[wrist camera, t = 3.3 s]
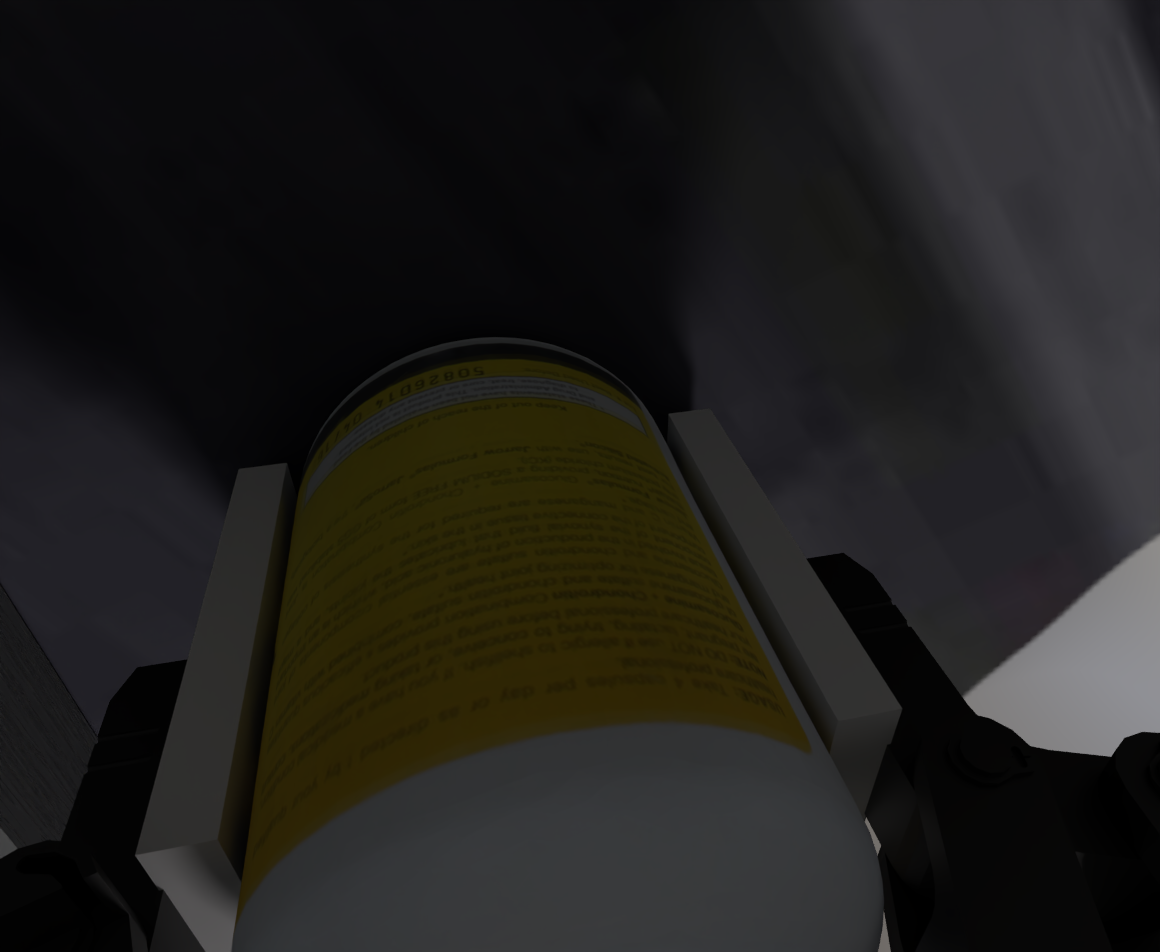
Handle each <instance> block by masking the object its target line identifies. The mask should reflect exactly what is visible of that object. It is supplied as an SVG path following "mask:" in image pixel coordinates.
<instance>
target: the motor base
mask: <svg viewBox="0 0 1160 952" xmlns="http://www.w3.org/2000/svg"><path fill="white" fill-rule="evenodd" d="M97 741H98V739H97V737H96V735H95V734H94V732H93V731H92V729H91V727H90V726H89V724H88V723H87V721H86V720H85V718H84V716H83V715H82V713H81V712H80V710H79V708H78V707H77V705H76V704H75V702H74V701H73V699H72V697H71V696H70V694H69V693H68V691H67V689H66V688H65V686H64V685H63V683H62V681H61V680H60V678H59V677H58V675H57V674H56V672H55V670H54V669H53V667H52V666H51V664H50V662H49V661H48V659H47V658H46V656H45V655H44V653H43V651H42V650H41V648H40V647H39V645H38V643H37V642H36V640H35V639H34V637H33V636H32V634H31V632H30V631H29V629H28V628H27V626H26V624H25V623H24V621H23V620H22V618H21V617H20V615H19V613H18V612H17V610H16V609H15V607H14V605H13V604H12V602H11V601H10V599H9V597H8V596H7V594H6V593H5V591H4V590H3V588H2V586H1V585H0V859H1V858H2V857H4V856H6V855H8V854H9V853H11V852H13V851H14V850H16V849H18V848H22V847H25V846H29V845H32V844H35V843H39V842H42V841H46V840H55V841H61V839H62V836H63V833H64V830H65V827H66V824H67V822H68V819H69V816H70V813H71V810H72V807H73V805H74V802H75V799H76V796H77V793H78V790H79V787H80V785H81V782H82V779H83V776H84V774H86V773H87V770H88V768H87V765H88V762H89V759H90V756H91V753H92V751H93V748H94V745H95V744H97Z"/></svg>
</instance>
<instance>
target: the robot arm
mask: <svg viewBox="0 0 1160 952" xmlns="http://www.w3.org/2000/svg"><path fill="white" fill-rule="evenodd" d="M667 445H668V447H669V449H670V451H671V453H672V456H673V458H674V460H675V462H676V464H677V466H678V468H679V470H680V472H681V474H682V476H683V478H684V480H685V482H686V485H687V487H688V488H689V490H690V492H691V494H692V496H693V498H694V500H695V502H696V504H697V506H698V508H699V510H700V512H701V514H702V516H703V517H704V519H705V521H706V523H707V525H708V527H709V529H710V531H711V533H712V535H713V536H714V538H715V540H716V542H717V544H718V546H719V548H720V550H721V552H722V553H723V555H724V557H725V559H726V561H727V563H728V565H729V567H730V569H731V570H732V572H733V574H734V576H735V578H736V580H737V582H738V584H739V586H740V588H741V589H742V591H743V593H744V595H745V597H746V599H747V601H748V603H749V605H750V606H751V608H752V610H753V612H754V614H755V616H756V618H757V620H758V622H759V624H760V625H761V627H762V629H763V631H764V633H765V635H766V637H767V639H768V641H769V643H770V644H771V646H772V648H773V650H774V652H775V654H776V656H777V658H778V660H779V661H780V663H781V665H782V667H783V669H784V671H785V673H786V675H787V677H788V679H789V680H790V682H791V684H792V686H793V688H794V690H795V692H796V693H797V695H798V697H799V699H800V701H801V703H802V705H803V706H804V708H805V710H806V712H807V714H808V716H809V718H810V719H811V721H812V723H813V725H814V727H815V729H816V730H817V732H818V734H819V736H820V738H821V740H822V742H823V743H824V745H825V747H826V749H827V751H828V753H829V755H830V756H831V758H832V760H833V762H834V764H835V766H836V768H837V769H838V771H839V773H840V775H841V777H842V779H843V780H844V782H845V784H846V786H847V788H848V790H849V792H850V793H851V795H852V797H853V799H854V801H855V803H856V805H857V807H858V809H859V811H860V813H861V815H862V817H863V819H864V822H865V819H866V817H867V819H868V821H869V823H870V825H871V827H872V829H873V830H874V832H875V834H876V836H877V838H878V840H879V842H880V844H881V848H880V850H879V853H878V861H879V866H880V870H881V875H882V881H883V892H884V913H885V919H886V924H887V931H888V937H889V943H890V949H891V952H1160V733H1151V732H1141V733H1138V734H1135V735H1132V736H1129V737H1126V738H1124V740H1123V741H1122V742H1121V744H1120V745H1119V747H1118V748H1117V749H1116V751H1115V752H1114V754H1113V755H1112V757H1107V756H1098V755H1089V754H1080V753H1071V752H1061V751H1053V750H1046V749H1042V748H1036V747H1031V746H1029V745H1028V744H1027V743H1026V742H1025V741H1024V740H1023V739H1022V738H1021V737H1019V736H1018V735H1017V734H1016V733H1015V732H1014V731H1013V730H1011V729H1009V728H1007V727H1005V726H1003V725H1002V724H1000V723H998V722H996V721H994V720H992V719H990V718H986V717H982V716H978V715H977V714H975V712H974V711H973V710H972V709H971V708H970V707H969V706H968V705H967V703H966V702H965V700H964V699H963V697H962V696H961V695H960V693H959V692H958V691H957V689H956V688H955V686H954V685H953V684H952V682H951V681H950V680H949V678H948V677H947V675H946V674H945V673H944V671H943V670H942V669H941V667H940V666H939V664H938V663H937V662H936V660H935V659H934V658H933V656H932V655H931V653H930V652H929V651H928V649H927V648H926V647H925V645H924V644H923V642H922V641H921V640H920V638H919V637H918V636H917V634H916V633H915V631H914V630H913V629H912V627H908V625H907V620H906V619H905V618H904V616H903V615H902V614H901V612H900V611H899V609H898V608H897V607H896V605H892V602H891V598H890V597H889V596H888V594H887V593H886V591H885V590H884V589H883V587H882V586H881V585H880V583H879V582H878V580H877V579H876V578H875V576H874V575H873V574H872V573H871V572H869V571H868V570H867V569H865V568H864V567H862V566H861V565H860V564H858V563H857V562H855V561H854V560H853V559H851V558H850V557H848V556H847V555H846V554H844V553H840V554H833V555H827V556H821V557H814V558H808V559H806V558H805V556H804V555H803V553H802V551H801V550H800V548H799V547H798V545H797V544H796V542H795V541H794V539H793V537H792V536H791V534H790V533H789V531H788V530H787V528H786V526H785V525H784V523H783V522H782V520H781V519H780V517H779V516H778V514H777V512H776V511H775V509H774V508H773V506H772V505H771V503H770V502H769V500H768V498H767V497H766V495H765V494H764V492H763V491H762V489H761V488H760V486H759V484H758V483H757V481H756V480H755V478H754V477H753V475H752V473H751V472H750V470H749V469H748V467H747V466H746V464H745V463H744V461H743V459H742V458H741V456H740V455H739V453H738V452H737V450H736V449H735V447H734V445H733V444H732V442H731V441H730V439H729V438H728V436H727V434H726V433H725V431H724V430H723V428H722V427H721V425H720V424H719V422H718V420H717V419H716V417H715V416H714V414H713V413H712V411H711V410H710V409H702V410H694V411H686V412H678V413H671V414H668V434H667ZM296 504H297V495H296V491H295V488H294V485H293V481H292V478H291V475H290V471H289V468H288V465H287V463H281V464H274V465H266V466H258V467H250V468H243V469H239V470H238V474H237V477H236V481H235V485H234V488H233V492H232V496H231V500H230V503H229V507H228V511H227V515H226V518H225V522H224V526H223V529H222V533H221V537H220V541H219V544H218V548H217V552H216V556H215V559H214V563H213V567H212V570H211V574H210V578H209V582H208V585H207V589H206V593H205V596H204V600H203V604H202V608H201V611H200V615H199V619H198V623H197V626H196V630H195V634H194V637H193V641H192V645H191V649H190V652H189V656H188V660H181V661H175V662H169V663H163V664H156V665H150V666H144V667H138V668H136V670H135V671H134V672H133V673H132V675H131V676H130V677H129V678H128V679H127V681H126V682H125V683H124V684H123V686H122V687H121V688H120V689H119V691H118V692H117V693H116V694H115V695H114V697H113V698H112V699H111V700H110V702H109V705H108V708H107V711H106V714H105V717H104V719H103V722H102V725H101V728H100V731H99V734H98V736H97V737H98V743H97V744H95V745H94V748H93V751H92V753H91V756H90V759H89V762H88V765H87V768H88V772H87V773H86V774H84V776H83V779H82V782H81V785H80V787H79V790H78V793H77V796H76V799H75V802H74V805H73V807H72V810H71V813H70V816H69V819H68V822H67V824H66V827H65V830H64V833H63V836H62V839H61V841H55V840H46V841H42V842H39V843H35V844H32V845H29V846H25V847H22V848H18V849H16V850H14V851H13V852H11V853H9V854H8V855H6V856H4V857H2V858H1V859H0V952H231V949H232V940H233V933H234V927H235V920H236V914H237V908H238V901H239V895H240V888H241V882H242V876H243V869H244V862H245V855H246V849H247V842H248V834H249V827H250V819H251V812H252V804H253V797H254V789H255V782H256V775H257V768H258V761H259V754H260V747H261V740H262V734H263V728H264V721H265V714H266V707H267V700H268V693H269V686H270V679H271V672H272V664H273V657H274V650H275V644H276V637H277V630H278V624H279V617H280V610H281V604H282V597H283V591H284V584H285V578H286V571H287V565H288V558H289V551H290V544H291V537H292V530H293V523H294V516H295V509H296Z"/></svg>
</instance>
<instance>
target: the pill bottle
mask: <svg viewBox="0 0 1160 952" xmlns="http://www.w3.org/2000/svg"><path fill="white" fill-rule="evenodd" d="M883 912H884V892H883V881H882V875H881V870H880V866H879V861H878V856H877V853H876V850H875V847H874V844H873V841H872V838H871V835H870V832H869V830H868V828H867V826H866V824H865V822H864V819H863V817H862V815H861V813H860V811H859V809H858V807H857V805H856V803H855V801H854V799H853V797H852V795H851V793H850V792H849V790H848V788H847V786H846V784H845V782H844V780H843V779H842V777H841V775H840V773H839V771H838V769H837V768H836V766H835V764H834V762H833V760H832V758H831V756H830V755H829V753H828V751H827V749H826V747H825V745H824V743H823V742H822V740H821V738H820V736H819V734H818V732H817V730H816V729H815V727H814V725H813V723H812V721H811V719H810V718H809V716H808V714H807V712H806V710H805V708H804V706H803V705H802V703H801V701H800V699H799V697H798V695H797V693H796V692H795V690H794V688H793V686H792V684H791V682H790V680H789V679H788V677H787V675H786V673H785V671H784V669H783V667H782V665H781V663H780V661H779V660H778V658H777V656H776V654H775V652H774V650H773V648H772V646H771V644H770V643H769V641H768V639H767V637H766V635H765V633H764V631H763V629H762V627H761V625H760V624H759V622H758V620H757V618H756V616H755V614H754V612H753V610H752V608H751V606H750V605H749V603H748V601H747V599H746V597H745V595H744V593H743V591H742V589H741V588H740V586H739V584H738V582H737V580H736V578H735V576H734V574H733V572H732V570H731V569H730V567H729V565H728V563H727V561H726V559H725V557H724V555H723V553H722V552H721V550H720V548H719V546H718V544H717V542H716V540H715V538H714V536H713V535H712V533H711V531H710V529H709V527H708V525H707V523H706V521H705V519H704V517H703V516H702V514H701V512H700V510H699V508H698V506H697V504H696V502H695V500H694V498H693V496H692V494H691V492H690V490H689V488H688V487H687V485H686V482H685V480H684V478H683V476H682V474H681V472H680V470H679V468H678V466H677V464H676V462H675V460H674V458H673V456H672V453H671V451H670V449H669V447H668V445H667V444H666V442H665V440H664V438H663V436H662V434H661V432H660V430H659V428H658V427H657V425H656V423H655V421H654V419H653V418H652V416H651V415H650V413H649V412H648V410H647V409H646V407H645V406H644V404H643V403H642V402H641V401H640V399H639V398H638V397H637V396H636V395H635V394H634V393H633V391H632V390H631V389H630V388H629V387H627V386H626V385H625V384H624V383H623V382H622V381H621V380H619V379H618V378H617V377H616V376H615V375H613V374H612V373H611V372H609V371H608V370H606V369H605V368H603V367H601V366H600V365H598V364H596V363H595V362H593V361H592V360H590V359H588V358H586V357H584V356H581V355H579V354H577V353H574V352H572V351H569V350H567V349H564V348H561V347H558V346H555V345H552V344H548V343H543V342H539V341H534V340H529V339H520V338H505V337H486V338H474V339H467V340H460V341H454V342H449V343H444V344H440V345H437V346H433V347H430V348H427V349H424V350H421V351H418V352H416V353H413V354H411V355H408V356H406V357H404V358H402V359H400V360H398V361H395V362H393V363H392V364H390V365H388V366H387V367H385V368H383V369H382V370H380V371H378V372H377V373H375V374H374V375H372V376H371V377H370V378H368V379H367V380H365V381H364V382H363V383H362V384H360V385H359V386H358V387H357V388H355V389H354V390H353V391H352V392H351V393H350V394H349V395H348V396H347V397H346V398H345V399H344V400H343V401H342V402H341V403H340V404H339V406H338V407H337V408H336V409H335V410H334V411H333V413H332V414H331V415H330V416H329V418H328V419H327V421H326V422H325V424H324V425H323V427H322V428H321V430H320V431H319V433H318V435H317V437H316V439H315V441H314V443H313V445H312V447H311V449H310V451H309V454H308V457H307V460H306V463H305V465H304V468H303V472H302V477H301V481H300V486H299V492H298V498H297V504H296V509H295V516H294V523H293V530H292V537H291V544H290V551H289V558H288V565H287V571H286V578H285V584H284V591H283V597H282V604H281V610H280V617H279V624H278V630H277V637H276V644H275V650H274V657H273V664H272V672H271V679H270V686H269V693H268V700H267V707H266V714H265V721H264V728H263V734H262V740H261V747H260V754H259V761H258V768H257V775H256V782H255V789H254V797H253V804H252V812H251V819H250V827H249V834H248V842H247V849H246V855H245V862H244V869H243V876H242V882H241V888H240V895H239V901H238V908H237V914H236V920H235V927H234V933H233V940H232V949H231V952H878V949H879V944H880V938H881V933H882V926H883Z"/></svg>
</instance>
